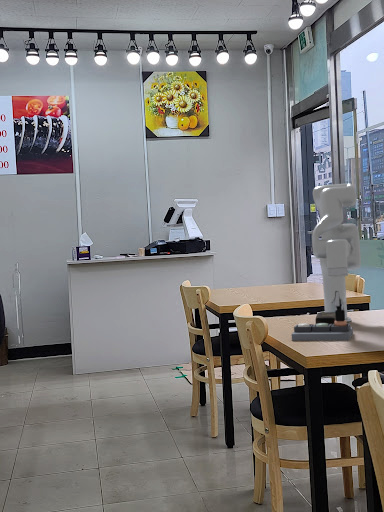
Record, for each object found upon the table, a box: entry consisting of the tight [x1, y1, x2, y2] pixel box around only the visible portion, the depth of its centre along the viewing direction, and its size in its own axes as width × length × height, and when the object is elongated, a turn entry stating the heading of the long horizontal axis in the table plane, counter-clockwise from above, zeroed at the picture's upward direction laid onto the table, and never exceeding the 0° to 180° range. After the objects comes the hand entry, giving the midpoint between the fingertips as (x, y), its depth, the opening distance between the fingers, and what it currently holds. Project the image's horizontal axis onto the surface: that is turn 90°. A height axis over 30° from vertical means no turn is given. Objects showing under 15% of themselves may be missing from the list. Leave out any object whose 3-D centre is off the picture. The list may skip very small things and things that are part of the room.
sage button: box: [315, 323, 328, 327], centre depth 241 cm, size 4×4×2 cm
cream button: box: [298, 322, 310, 327], centre depth 244 cm, size 4×4×2 cm
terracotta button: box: [335, 320, 348, 326], centre depth 239 cm, size 4×4×2 cm
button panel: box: [291, 323, 354, 342], centre depth 241 cm, size 14×21×4 cm, turn 70°
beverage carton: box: [315, 310, 336, 325], centre depth 259 cm, size 8×19×7 cm, turn 166°
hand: (340, 320), depth 238 cm, fingers closed
